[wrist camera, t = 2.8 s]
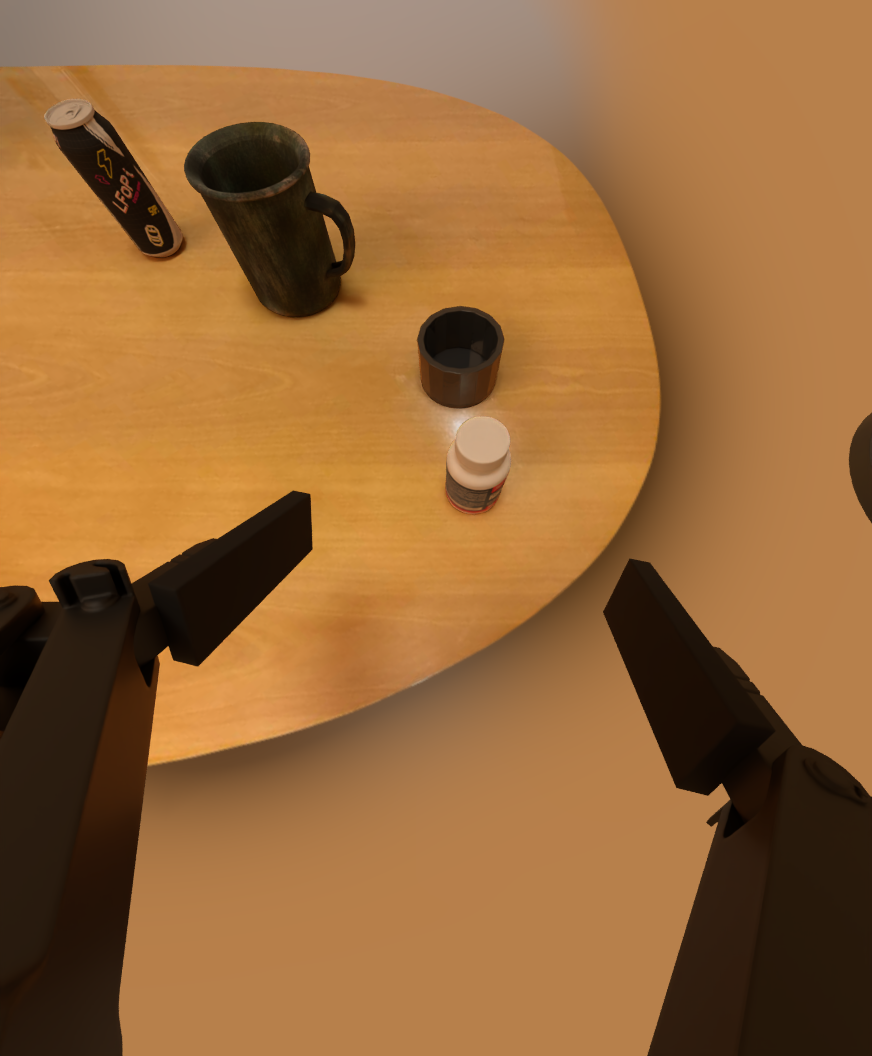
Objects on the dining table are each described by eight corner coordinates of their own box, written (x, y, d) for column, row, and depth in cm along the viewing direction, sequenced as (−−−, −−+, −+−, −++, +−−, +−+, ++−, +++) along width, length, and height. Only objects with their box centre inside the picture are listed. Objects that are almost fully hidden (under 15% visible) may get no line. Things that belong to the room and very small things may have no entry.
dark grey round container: (501, 353, 37) (509, 312, 33) (488, 414, 35) (496, 379, 30) (430, 342, 38) (428, 301, 33) (413, 401, 36) (408, 365, 31)
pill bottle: (491, 521, 32) (509, 481, 23) (438, 506, 32) (437, 461, 24) (505, 473, 33) (526, 418, 25) (454, 459, 34) (458, 401, 25)
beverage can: (194, 235, 44) (108, 97, 33) (174, 265, 43) (76, 131, 31) (156, 229, 45) (58, 91, 34) (134, 258, 43) (24, 124, 32)
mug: (278, 250, 43) (219, 112, 32) (383, 273, 42) (361, 136, 30) (239, 311, 40) (158, 183, 29) (351, 338, 39) (312, 214, 27)
